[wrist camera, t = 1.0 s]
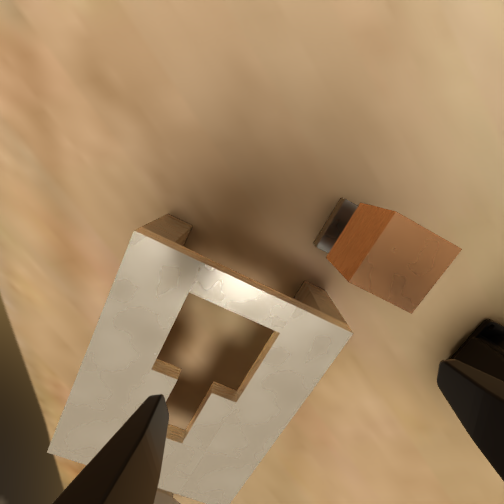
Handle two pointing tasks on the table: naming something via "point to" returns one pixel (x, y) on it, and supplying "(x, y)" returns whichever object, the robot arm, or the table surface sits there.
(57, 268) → the table surface
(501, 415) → the robot arm
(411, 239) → the peg
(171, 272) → the keyhole stand
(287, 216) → the table surface
